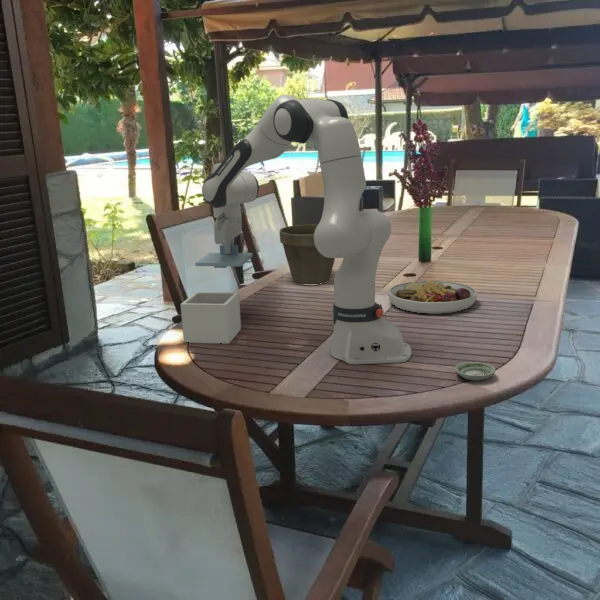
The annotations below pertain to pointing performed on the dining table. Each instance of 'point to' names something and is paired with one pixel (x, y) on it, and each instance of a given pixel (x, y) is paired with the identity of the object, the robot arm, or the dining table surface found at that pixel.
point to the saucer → (475, 366)
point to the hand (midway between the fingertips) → (229, 252)
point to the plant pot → (305, 255)
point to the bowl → (432, 296)
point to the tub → (211, 317)
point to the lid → (225, 258)
